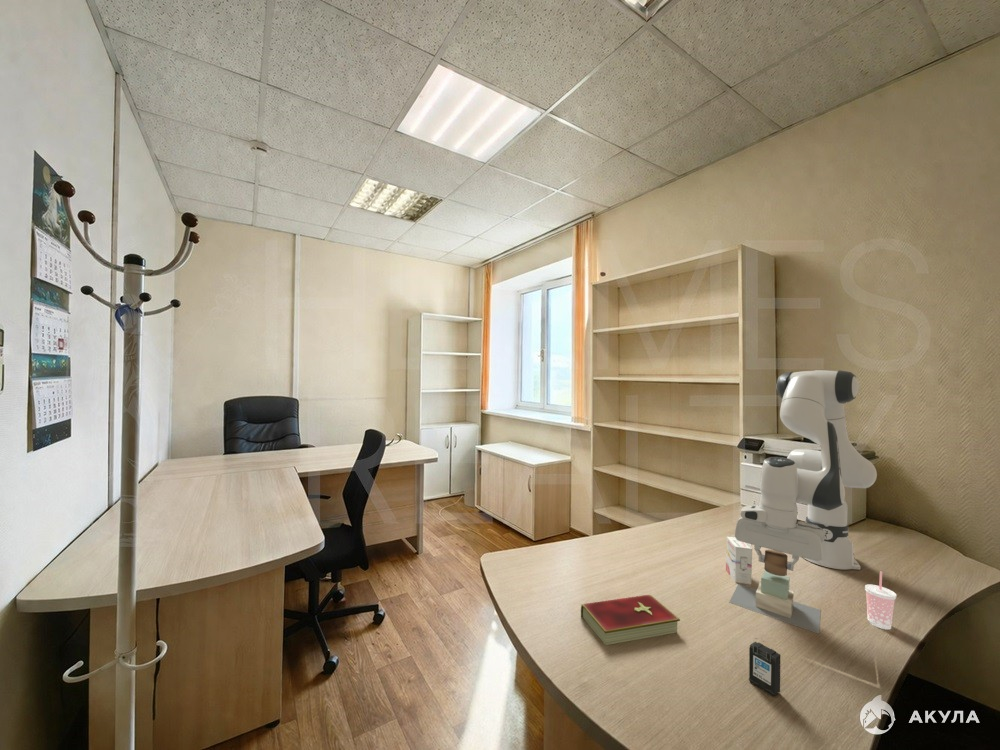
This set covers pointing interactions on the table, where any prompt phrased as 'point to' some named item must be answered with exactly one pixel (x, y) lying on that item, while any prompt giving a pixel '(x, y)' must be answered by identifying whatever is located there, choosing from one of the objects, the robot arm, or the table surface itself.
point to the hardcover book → (629, 619)
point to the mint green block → (775, 585)
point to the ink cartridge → (764, 668)
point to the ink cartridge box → (739, 560)
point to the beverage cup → (880, 605)
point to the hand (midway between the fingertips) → (775, 565)
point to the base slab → (775, 603)
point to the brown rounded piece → (776, 562)
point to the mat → (800, 614)
